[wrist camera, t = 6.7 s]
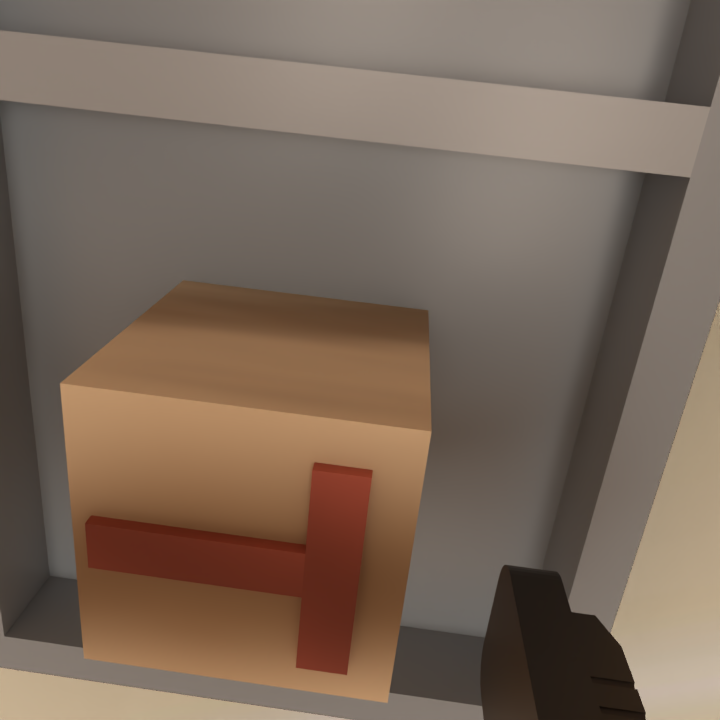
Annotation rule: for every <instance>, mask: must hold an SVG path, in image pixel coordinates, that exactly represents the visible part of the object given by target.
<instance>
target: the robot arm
mask: <svg viewBox="0 0 720 720" xmlns="http://www.w3.org/2000/svg"><path fill="white" fill-rule="evenodd" d="M634 683H635V682H634V680H633V677H632V674H631V671H630V669H629V666H628V663H627V661H626V658H625V655H624V652H623V650H622V647H621V646H620V645H619V643H618V642H617V641H616V640H615V639H614V637H613V636H612V635H611V634H610V632H609V631H608V630H607V629H606V628H605V626H604V625H603V624H602V623H601V622H600V620H599V619H598V618H597V617H596V616H595V615H590V614H582V613H575V612H571V609H570V606H569V602H568V599H567V595H566V592H565V589H564V585H563V582H562V579H561V576H560V575H559V573H558V572H556V571H549V570H542V569H534V568H527V567H519V566H512V565H504V566H503V567H502V569H501V572H500V575H499V579H498V583H497V587H496V592H495V596H494V601H493V605H492V609H491V614H490V618H489V622H488V627H487V631H486V635H485V640H484V644H483V650H482V658H481V671H480V687H481V700H482V709H483V718H484V720H646V719H645V713H646V712H645V710H644V707H643V704H642V701H641V699H640V696H639V693H638V691H637V690H636V689H635V688H634Z"/></svg>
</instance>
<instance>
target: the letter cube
mask: <svg viewBox="0 0 720 720" xmlns="http://www.w3.org/2000/svg"><path fill="white" fill-rule="evenodd" d="M60 389H61V401H62V412H63V424H64V435H65V447H66V458H67V470H68V481H69V493H70V504H71V516H72V527H73V539H74V550H75V562H76V573H77V585H78V596H79V607H80V619H81V630H82V642H83V653H84V659H91V660H98V661H104V662H111V663H118V664H125V665H132V666H139V667H145V668H152V669H159V670H166V671H173V672H179V673H186V674H193V675H200V676H207V677H213V678H220V679H227V680H234V681H241V682H248V683H254V684H261V685H268V686H275V687H282V688H288V689H295V690H302V691H309V692H316V693H323V694H329V695H336V696H343V697H350V698H357V699H363V700H370V701H377V702H384V703H388V697H389V691H390V685H391V678H392V672H393V666H394V660H395V654H396V648H397V641H398V635H399V629H400V623H401V617H402V611H403V605H404V598H405V592H406V586H407V580H408V574H409V568H410V561H411V555H412V549H413V543H414V537H415V531H416V524H417V518H418V512H419V506H420V500H421V494H422V487H423V481H424V475H425V469H426V463H427V457H428V450H429V444H430V438H431V432H432V429H431V391H430V353H429V315H428V310H422V309H414V308H405V307H397V306H389V305H381V304H373V303H365V302H356V301H348V300H340V299H332V298H324V297H316V296H307V295H299V294H291V293H283V292H275V291H267V290H258V289H250V288H242V287H234V286H226V285H218V284H209V283H201V282H193V281H185V280H183V281H182V282H181V283H179V284H178V285H177V286H176V287H175V288H173V289H172V290H171V291H170V292H169V293H167V294H166V295H165V296H164V297H163V298H161V299H160V300H159V301H158V302H157V303H155V304H154V305H153V306H152V307H151V308H149V309H148V310H147V311H146V312H145V313H143V314H142V315H141V316H140V317H139V318H137V319H136V320H135V321H134V322H133V323H132V324H130V325H129V326H128V327H127V328H126V329H124V330H123V331H122V332H121V333H120V334H118V335H117V336H116V337H115V338H114V339H112V340H111V341H110V342H109V343H108V344H106V345H105V346H104V347H103V348H102V349H100V350H99V351H98V352H97V353H96V354H94V355H93V356H92V357H91V358H90V359H88V360H87V361H86V362H85V363H84V364H82V365H81V366H80V367H79V368H78V369H77V370H75V371H74V372H73V373H72V374H71V375H69V376H68V377H67V378H66V379H65V380H63V381H62V382H61V383H60Z"/></svg>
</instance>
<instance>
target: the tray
mask: <svg viewBox="0 0 720 720" xmlns="http://www.w3.org/2000/svg"><path fill="white" fill-rule="evenodd" d="M183 280H185V281H193V282H201V283H209V284H218V285H226V286H234V287H242V288H250V289H258V290H267V291H275V292H283V293H291V294H299V295H307V296H316V297H324V298H332V299H340V300H348V301H356V302H365V303H373V304H381V305H389V306H397V307H405V308H414V309H422V310H428V315H429V353H430V391H431V429H432V432H431V438H430V444H429V450H428V457H427V463H426V469H425V475H424V481H423V487H422V494H421V500H420V506H419V512H418V518H417V524H416V531H415V537H414V543H413V549H412V555H411V561H410V568H409V574H408V580H407V586H406V592H405V598H404V605H403V611H402V617H401V623H400V629H399V635H398V641H397V648H396V654H395V660H394V666H393V672H392V678H391V685H390V691H389V697H388V703H384V702H377V701H370V700H363V699H357V698H350V697H343V696H336V695H329V694H323V693H316V692H309V691H302V690H295V689H288V688H282V687H275V686H268V685H261V684H254V683H248V682H241V681H234V680H227V679H220V678H213V677H207V676H200V675H193V674H186V673H179V672H173V671H166V670H159V669H152V668H145V667H139V666H132V665H125V664H118V663H111V662H104V661H98V660H91V659H84V653H83V642H82V630H81V619H80V607H79V596H78V585H77V573H76V562H75V550H74V539H73V527H72V516H71V504H70V493H69V481H68V470H67V458H66V447H65V435H64V424H63V412H62V401H61V389H60V383H61V382H62V381H63V380H65V379H66V378H67V377H68V376H69V375H71V374H72V373H73V372H74V371H75V370H77V369H78V368H79V367H80V366H81V365H82V364H84V363H85V362H86V361H87V360H88V359H90V358H91V357H92V356H93V355H94V354H96V353H97V352H98V351H99V350H100V349H102V348H103V347H104V346H105V345H106V344H108V343H109V342H110V341H111V340H112V339H114V338H115V337H116V336H117V335H118V334H120V333H121V332H122V331H123V330H124V329H126V328H127V327H128V326H129V325H130V324H132V323H133V322H134V321H135V320H136V319H137V318H139V317H140V316H141V315H142V314H143V313H145V312H146V311H147V310H148V309H149V308H151V307H152V306H153V305H154V304H155V303H157V302H158V301H159V300H160V299H161V298H163V297H164V296H165V295H166V294H167V293H169V292H170V291H171V290H172V289H173V288H175V287H176V286H177V285H178V284H179V283H181V282H182V281H183ZM719 301H720V0H0V667H1V668H7V669H14V670H21V671H28V672H34V673H41V674H48V675H55V676H61V677H68V678H75V679H82V680H89V681H95V682H102V683H109V684H116V685H122V686H129V687H136V688H143V689H149V690H156V691H163V692H170V693H176V694H183V695H190V696H197V697H203V698H210V699H217V700H224V701H230V702H237V703H244V704H251V705H257V706H264V707H271V708H278V709H284V710H291V711H298V712H305V713H311V714H318V715H325V716H332V717H338V718H345V719H352V720H484V718H483V709H482V700H481V687H480V671H481V658H482V650H483V644H484V640H485V635H486V631H487V627H488V622H489V618H490V614H491V609H492V605H493V601H494V596H495V592H496V587H497V583H498V579H499V575H500V572H501V569H502V567H503V566H504V565H512V566H519V567H527V568H534V569H542V570H549V571H556V572H558V573H559V575H560V576H561V579H562V582H563V585H564V589H565V592H566V595H567V599H568V602H569V606H570V609H571V612H575V613H582V614H590V615H595V616H596V617H597V618H598V619H599V620H600V622H601V623H602V624H603V625H604V626H605V628H606V629H607V630H608V631H609V632H611V629H612V626H613V623H614V620H615V617H616V614H617V611H618V608H619V605H620V602H621V599H622V596H623V593H624V590H625V587H626V584H627V581H628V578H629V575H630V572H631V569H632V566H633V562H634V559H635V556H636V553H637V550H638V547H639V544H640V541H641V538H642V535H643V532H644V529H645V526H646V523H647V520H648V517H649V514H650V511H651V508H652V505H653V502H654V499H655V496H656V492H657V489H658V486H659V483H660V480H661V477H662V474H663V471H664V468H665V465H666V462H667V459H668V456H669V453H670V450H671V447H672V444H673V441H674V438H675V435H676V432H677V429H678V426H679V422H680V419H681V416H682V413H683V410H684V407H685V404H686V401H687V398H688V395H689V392H690V389H691V386H692V383H693V380H694V377H695V374H696V371H697V368H698V365H699V362H700V359H701V356H702V352H703V349H704V346H705V343H706V340H707V337H708V334H709V331H710V328H711V325H712V322H713V319H714V316H715V313H716V310H717V307H718V304H719Z"/></svg>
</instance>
